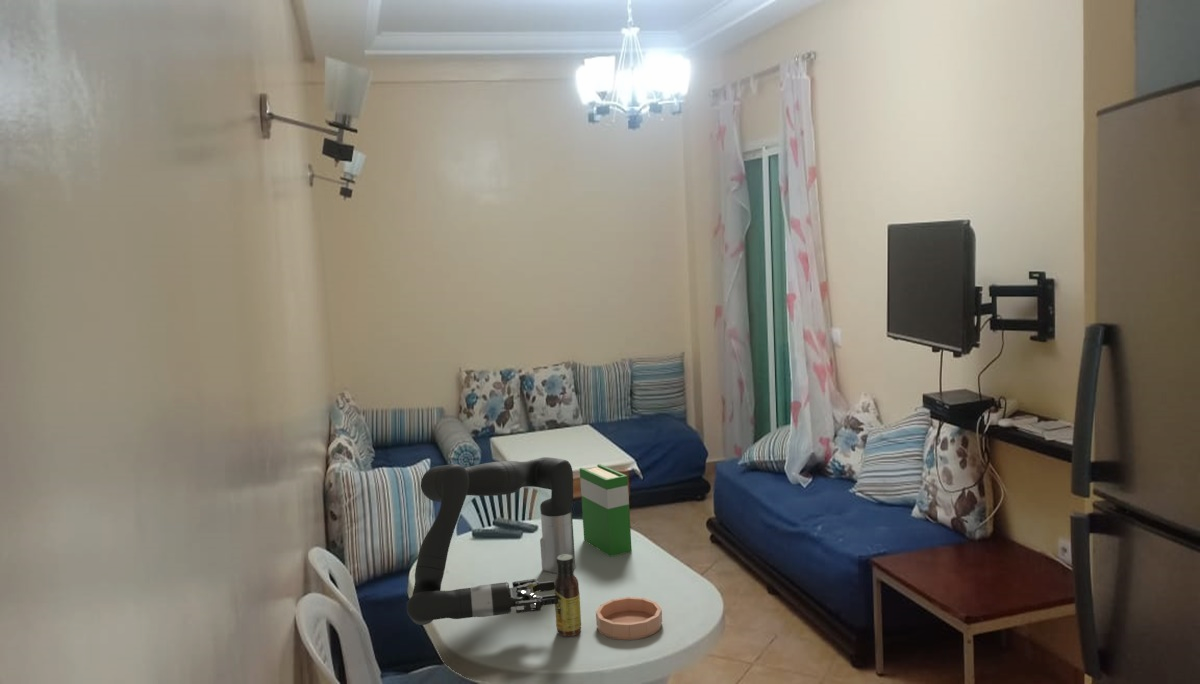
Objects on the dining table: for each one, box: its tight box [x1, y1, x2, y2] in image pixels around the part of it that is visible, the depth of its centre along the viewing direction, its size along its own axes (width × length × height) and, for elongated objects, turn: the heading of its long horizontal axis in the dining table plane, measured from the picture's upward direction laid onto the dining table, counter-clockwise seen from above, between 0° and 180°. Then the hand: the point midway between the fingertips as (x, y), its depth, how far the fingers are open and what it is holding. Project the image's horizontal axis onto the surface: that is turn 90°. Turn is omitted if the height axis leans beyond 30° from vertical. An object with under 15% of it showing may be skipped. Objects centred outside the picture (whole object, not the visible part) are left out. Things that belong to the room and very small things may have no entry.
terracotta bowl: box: [595, 596, 663, 641], centre depth 226 cm, size 16×16×4 cm
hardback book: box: [579, 463, 633, 557], centre depth 283 cm, size 18×7×24 cm, turn 28°
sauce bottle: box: [553, 554, 582, 637], centre depth 223 cm, size 6×6×20 cm
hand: (556, 591), depth 223 cm, fingers open, 8 cm apart
